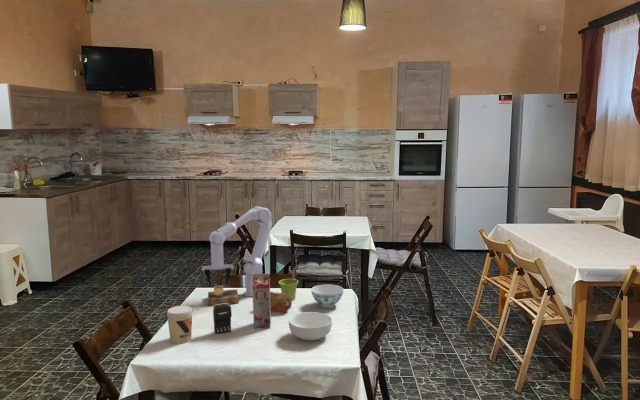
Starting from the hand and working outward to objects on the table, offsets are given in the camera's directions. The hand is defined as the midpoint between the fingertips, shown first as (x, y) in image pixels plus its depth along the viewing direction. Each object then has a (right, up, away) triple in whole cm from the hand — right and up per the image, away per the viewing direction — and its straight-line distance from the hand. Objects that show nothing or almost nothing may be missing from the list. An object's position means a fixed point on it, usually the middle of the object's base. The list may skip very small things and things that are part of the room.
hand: (218, 284), depth 220 cm
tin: (+29, -10, -13) cm, 33 cm away
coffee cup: (-5, -14, -43) cm, 45 cm away
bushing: (0, -8, +1) cm, 8 cm away
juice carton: (+25, -12, -30) cm, 41 cm away
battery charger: (+10, -13, -36) cm, 40 cm away
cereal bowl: (+45, -13, -42) cm, 63 cm away
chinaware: (+52, -9, -7) cm, 53 cm away
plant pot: (+34, -8, +3) cm, 35 cm away
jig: (+2, -8, +1) cm, 8 cm away
